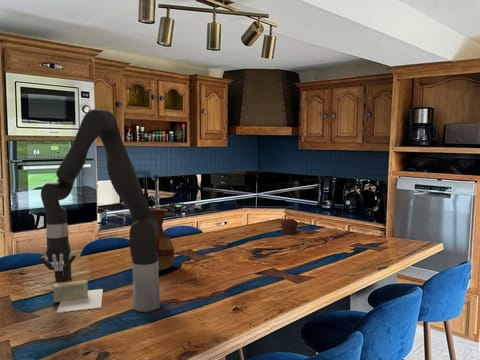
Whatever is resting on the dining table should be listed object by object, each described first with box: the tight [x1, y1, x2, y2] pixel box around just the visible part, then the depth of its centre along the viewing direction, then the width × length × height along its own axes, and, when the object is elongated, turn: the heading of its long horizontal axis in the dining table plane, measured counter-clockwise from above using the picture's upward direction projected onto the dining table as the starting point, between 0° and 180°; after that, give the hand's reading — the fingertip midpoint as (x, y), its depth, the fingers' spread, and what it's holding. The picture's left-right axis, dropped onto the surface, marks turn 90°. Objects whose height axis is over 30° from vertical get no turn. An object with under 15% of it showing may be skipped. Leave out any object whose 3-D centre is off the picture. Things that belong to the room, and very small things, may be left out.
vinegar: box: [55, 244, 72, 282], centre depth 183 cm, size 7×7×20 cm
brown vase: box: [149, 207, 175, 272], centre depth 196 cm, size 20×20×30 cm
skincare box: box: [53, 279, 89, 303], centre depth 159 cm, size 6×4×12 cm
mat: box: [56, 288, 104, 314], centre depth 158 cm, size 15×20×1 cm
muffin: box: [280, 218, 299, 236], centre depth 274 cm, size 12×11×10 cm
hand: (59, 279), depth 155 cm, fingers closed
